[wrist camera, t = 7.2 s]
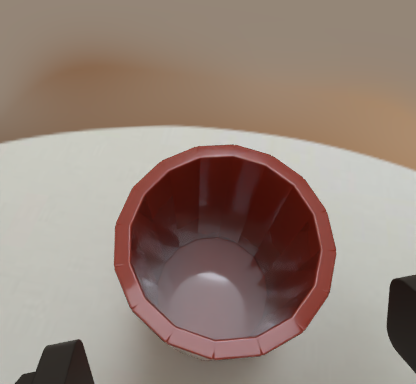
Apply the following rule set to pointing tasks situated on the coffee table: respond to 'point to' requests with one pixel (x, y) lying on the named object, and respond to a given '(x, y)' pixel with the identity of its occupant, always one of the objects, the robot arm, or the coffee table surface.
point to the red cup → (224, 252)
